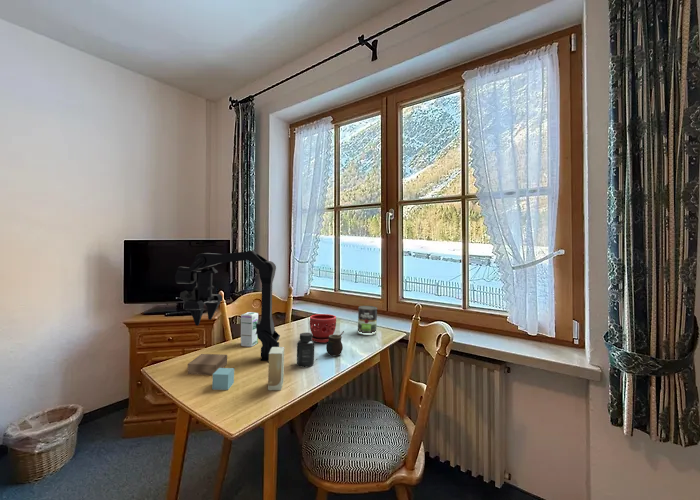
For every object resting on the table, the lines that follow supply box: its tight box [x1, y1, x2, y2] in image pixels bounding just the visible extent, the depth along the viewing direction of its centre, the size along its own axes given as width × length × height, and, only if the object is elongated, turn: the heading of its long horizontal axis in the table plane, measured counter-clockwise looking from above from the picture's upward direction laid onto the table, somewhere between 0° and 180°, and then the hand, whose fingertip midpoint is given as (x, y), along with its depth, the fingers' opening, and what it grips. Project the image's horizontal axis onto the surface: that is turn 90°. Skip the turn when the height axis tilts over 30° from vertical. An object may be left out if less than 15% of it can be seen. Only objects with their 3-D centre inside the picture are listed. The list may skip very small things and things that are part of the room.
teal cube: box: [211, 367, 235, 391], centre depth 100 cm, size 5×5×5 cm
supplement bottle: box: [296, 332, 315, 368], centre depth 120 cm, size 7×7×12 cm
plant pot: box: [309, 313, 337, 344], centre depth 151 cm, size 13×13×12 cm
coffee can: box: [357, 305, 378, 333], centre depth 165 cm, size 10×10×14 cm
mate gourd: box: [325, 330, 345, 357], centre depth 132 cm, size 7×8×10 cm
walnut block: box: [187, 353, 228, 376], centre depth 113 cm, size 10×10×4 cm
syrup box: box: [240, 311, 259, 348], centre depth 141 cm, size 6×6×14 cm
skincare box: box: [267, 346, 285, 391], centre depth 101 cm, size 6×4×12 cm
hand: (203, 322), depth 123 cm, fingers open, 9 cm apart
